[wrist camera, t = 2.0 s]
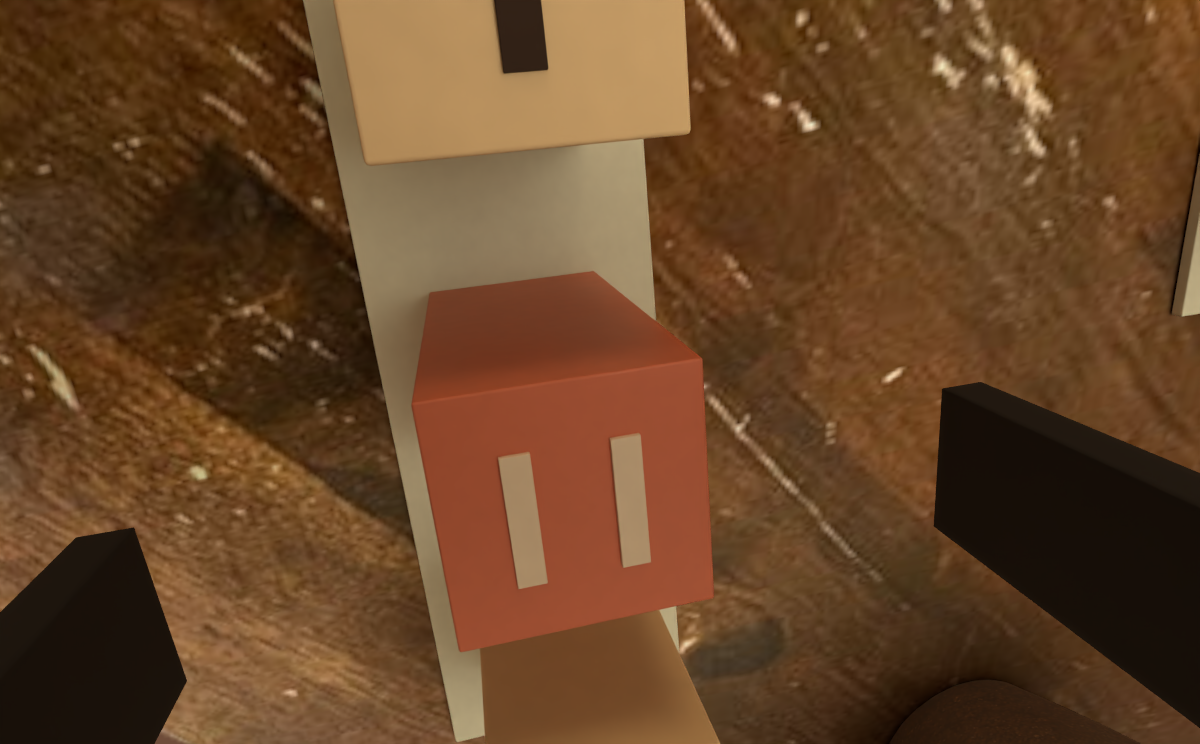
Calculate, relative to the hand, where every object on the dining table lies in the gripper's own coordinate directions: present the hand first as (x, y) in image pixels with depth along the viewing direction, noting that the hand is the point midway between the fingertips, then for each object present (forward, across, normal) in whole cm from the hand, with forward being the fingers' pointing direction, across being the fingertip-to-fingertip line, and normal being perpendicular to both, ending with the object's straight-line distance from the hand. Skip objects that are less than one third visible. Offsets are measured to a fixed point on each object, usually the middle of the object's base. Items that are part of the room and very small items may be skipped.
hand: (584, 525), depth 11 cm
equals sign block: (+9, 0, 0) cm, 9 cm away
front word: (+10, 0, 0) cm, 10 cm away
